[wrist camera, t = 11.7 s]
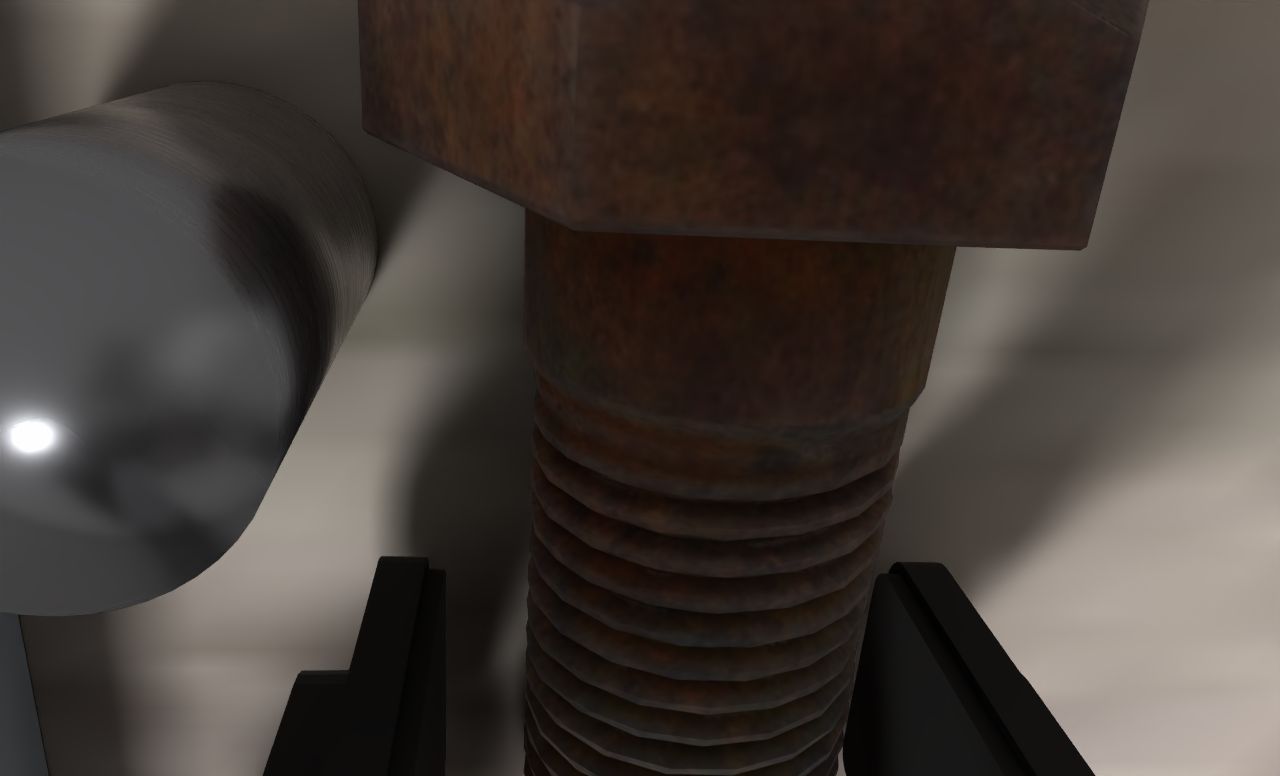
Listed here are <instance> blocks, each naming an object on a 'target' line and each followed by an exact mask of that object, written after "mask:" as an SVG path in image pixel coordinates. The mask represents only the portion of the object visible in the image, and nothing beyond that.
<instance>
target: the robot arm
mask: <svg viewBox="0 0 1280 776" xmlns="http://www.w3.org/2000/svg"><path fill="white" fill-rule="evenodd" d="M445 760H446V569H429V559H428V557H404V556H381V557H380V558H379V561H378V564H377V568H376V572H375V575H374V579H373V583H372V587H371V590H370V594H369V598H368V602H367V605H366V609H365V613H364V616H363V620H362V624H361V628H360V631H359V635H358V639H357V643H356V646H355V650H354V654H353V658H352V661H351V665H350V669H349V670H329V671H301V672H300V673H299V674H298V676H297V678H296V680H295V683H294V685H293V688H292V691H291V694H290V697H289V700H288V703H287V706H286V708H285V711H284V714H283V717H282V720H281V723H280V726H279V729H278V732H277V735H276V738H275V741H274V744H273V747H272V749H271V752H270V755H269V758H268V761H267V764H266V767H265V770H264V773H263V776H445ZM843 763H844V769H845V773H846V776H1095V774H1094V773H1093V772H1092V770H1091V769H1090V767H1089V766H1088V764H1087V763H1086V762H1085V760H1084V759H1083V757H1082V756H1081V755H1080V753H1079V752H1078V750H1077V749H1076V748H1075V746H1074V745H1073V743H1072V742H1071V741H1070V739H1069V738H1068V736H1067V735H1066V733H1065V732H1064V731H1063V729H1062V728H1061V726H1060V725H1059V724H1058V722H1057V721H1056V719H1055V718H1054V717H1053V715H1052V714H1051V712H1050V711H1049V710H1048V708H1047V707H1046V705H1045V704H1044V702H1043V701H1042V700H1041V698H1040V697H1039V695H1038V694H1037V693H1036V691H1035V690H1034V688H1033V687H1032V686H1031V684H1030V683H1029V681H1028V680H1027V679H1026V678H1025V677H1024V676H1023V675H1022V674H1021V673H1020V672H1019V670H1018V669H1017V667H1016V666H1015V665H1014V663H1013V662H1012V660H1011V659H1010V657H1009V656H1008V655H1007V653H1006V652H1005V650H1004V649H1003V648H1002V646H1001V645H1000V643H999V642H998V640H997V639H996V638H995V636H994V635H993V633H992V632H991V631H990V629H989V628H988V626H987V625H986V623H985V622H984V621H983V619H982V618H981V616H980V615H979V614H978V612H977V611H976V609H975V608H974V606H973V605H972V604H971V602H970V601H969V599H968V598H967V597H966V595H965V594H964V592H963V591H962V589H961V588H960V587H959V585H958V584H957V582H956V581H955V580H954V578H953V577H952V575H951V574H950V572H949V571H948V570H947V568H946V567H945V566H944V565H943V564H941V563H933V562H896V563H894V564H893V565H892V567H891V568H890V570H889V573H888V574H879V575H878V577H877V578H876V581H875V584H874V589H873V594H872V599H871V604H870V609H869V614H868V619H867V624H866V629H865V634H864V639H863V645H862V650H861V655H860V660H859V665H858V670H857V675H856V680H855V685H854V690H853V695H852V700H851V705H850V710H849V717H848V721H847V726H846V731H845V736H844V741H843Z"/></svg>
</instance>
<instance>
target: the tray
mask: <svg viewBox="0 0 1280 776" xmlns="http://www.w3.org/2000/svg"><path fill="white" fill-rule="evenodd" d="M0 776H49V774H48V769H47V764H46V759H45V753H44V748H43V743H42V738H41V733H40V727H39V722H38V717H37V712H36V706H35V701H34V696H33V691H32V686H31V680H30V675H29V670H28V665H27V660H26V654H25V649H24V644H23V639H22V633H21V628H20V623H19V618H18V614H14V613H7V612H1V611H0Z"/></svg>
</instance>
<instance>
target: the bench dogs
mask: <svg viewBox="0 0 1280 776" xmlns="http://www.w3.org/2000/svg"><path fill="white" fill-rule="evenodd" d="M377 242H378V241H377V230H376V221H375V217H374V212H373V208H372V204H371V201H370V198H369V196H368V193H367V190H366V187H365V185H364V183H363V181H362V179H361V177H360V175H359V173H358V172H357V170H356V168H355V166H354V165H353V163H352V162H351V160H350V159H349V157H348V156H347V155H346V153H345V152H344V150H343V149H342V148H341V147H340V146H339V145H338V143H337V142H336V141H335V140H334V139H333V138H332V137H331V136H330V134H328V133H327V132H326V131H325V130H324V129H323V128H322V127H321V126H319V125H318V124H317V123H316V122H315V121H314V120H312V119H311V118H310V117H308V116H307V115H305V114H304V113H302V112H301V111H300V110H298V109H297V108H295V107H293V106H291V105H290V104H288V103H286V102H284V101H282V100H280V99H278V98H276V97H274V96H271V95H269V94H266V93H264V92H261V91H259V90H256V89H252V88H248V87H244V86H240V85H236V84H229V83H221V82H188V83H180V84H173V85H169V86H166V87H162V88H158V89H155V90H151V91H147V92H144V93H140V94H136V95H133V96H129V97H125V98H122V99H118V100H114V101H111V102H107V103H103V104H100V105H96V106H92V107H89V108H85V109H81V110H78V111H74V112H70V113H67V114H63V115H59V116H56V117H52V118H48V119H45V120H41V121H37V122H34V123H30V124H26V125H23V126H19V127H15V128H12V129H8V130H4V131H1V132H0V611H1V612H7V613H14V614H21V615H36V616H73V615H88V614H94V613H101V612H107V611H113V610H118V609H122V608H125V607H129V606H132V605H136V604H139V603H143V602H146V601H149V600H151V599H153V598H156V597H158V596H161V595H163V594H165V593H168V592H170V591H173V590H174V589H176V588H178V587H179V586H181V585H183V584H185V583H186V582H188V581H190V580H192V579H193V578H195V577H197V576H198V575H199V574H201V573H202V572H203V571H205V570H206V569H207V568H209V567H210V566H211V565H212V564H214V563H215V562H216V561H218V560H219V559H220V558H221V557H222V556H223V555H224V554H225V553H226V552H227V551H228V550H229V549H230V547H231V546H232V545H233V544H234V543H235V542H236V541H237V540H238V539H239V537H240V536H241V535H242V533H243V532H244V530H245V529H246V528H247V526H248V525H249V524H250V522H251V521H252V519H253V518H254V516H255V514H256V512H257V510H258V508H259V506H260V504H261V502H262V500H263V498H264V496H265V494H266V492H267V490H268V488H269V486H270V484H271V482H272V480H273V478H274V476H275V474H276V473H277V471H278V469H279V467H280V465H281V463H282V461H283V459H284V457H285V455H286V453H287V451H288V449H289V447H290V445H291V443H292V441H293V439H294V437H295V435H296V433H297V431H298V429H299V427H300V425H301V423H302V422H303V420H304V418H305V416H306V414H307V412H308V410H309V408H310V406H311V404H312V402H313V400H314V398H315V396H316V394H317V392H318V390H319V388H320V386H321V384H322V382H323V380H324V378H325V376H326V374H327V373H328V371H329V369H330V367H331V365H332V363H333V361H334V359H335V357H336V355H337V353H338V351H339V349H340V347H341V345H342V343H343V341H344V339H345V337H346V335H347V333H348V331H349V329H350V327H351V325H352V324H353V322H354V320H355V318H356V316H357V314H358V312H359V310H360V308H361V306H362V304H363V302H364V300H365V298H366V296H367V294H368V291H369V289H370V286H371V283H372V280H373V277H374V271H375V266H376V261H377Z"/></svg>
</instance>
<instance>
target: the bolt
mask: <svg viewBox="0 0 1280 776" xmlns="http://www.w3.org/2000/svg"><path fill="white" fill-rule="evenodd" d="M1148 2H1149V0H358V18H359V43H360V68H361V93H362V118H363V129H364V130H365V131H366V132H367V133H368V134H369V135H372V136H374V137H376V138H378V139H380V140H382V141H384V142H386V143H389V144H391V145H393V146H395V147H397V148H399V149H401V150H403V151H406V152H408V153H410V154H412V155H414V156H416V157H418V158H420V159H423V160H425V161H427V162H429V163H431V164H433V165H435V166H437V167H440V168H442V169H444V170H446V171H448V172H450V173H452V174H454V175H457V176H459V177H461V178H463V179H465V180H467V181H469V182H471V183H474V184H476V185H478V186H480V187H482V188H484V189H486V190H488V191H491V192H493V193H495V194H497V195H499V196H501V197H503V198H505V199H508V200H510V201H512V202H514V203H516V204H518V205H520V206H522V207H525V275H524V342H525V346H526V351H527V353H528V355H529V357H530V359H531V360H532V362H533V364H534V373H535V377H536V381H537V385H538V386H537V391H536V396H535V401H534V406H533V419H534V420H535V422H536V424H535V426H534V428H533V429H532V453H533V455H534V457H535V458H534V460H533V461H532V463H531V487H532V489H533V492H532V494H531V496H530V505H531V511H532V517H533V525H532V532H531V538H530V545H529V552H530V554H531V558H530V562H529V566H528V581H529V586H530V588H529V593H528V597H527V606H528V617H529V618H528V622H527V626H526V633H527V644H528V645H527V649H526V670H527V675H528V678H527V686H526V694H525V696H526V700H525V721H526V722H525V725H524V749H525V752H526V756H525V764H524V775H525V776H836V774H837V771H838V754H839V752H840V750H841V748H842V746H843V741H844V733H843V728H844V726H845V724H846V722H847V720H848V717H849V699H850V696H851V694H852V690H853V679H854V668H855V663H854V658H855V653H856V648H857V642H858V639H859V636H860V630H861V619H862V616H863V613H864V611H865V608H866V606H867V600H868V592H869V589H870V586H871V582H872V577H873V572H874V567H875V562H876V558H877V556H878V552H879V548H880V544H881V540H882V535H883V531H884V526H885V521H886V516H887V513H888V510H889V507H890V504H891V501H892V498H893V495H892V489H891V487H892V483H893V480H894V477H895V473H896V470H897V467H898V461H899V451H900V446H901V445H902V442H903V437H904V433H905V428H906V423H907V418H908V413H909V408H910V407H911V406H912V404H913V403H914V402H915V401H916V400H917V398H918V397H919V395H920V394H921V392H922V391H923V389H924V388H925V384H926V380H927V375H928V371H929V367H930V362H931V358H932V353H933V349H934V344H935V340H936V335H937V331H938V327H939V322H940V318H941V313H942V309H943V304H944V300H945V295H946V291H947V287H948V282H949V278H950V273H951V269H952V264H953V260H954V255H955V251H956V247H957V246H961V247H986V248H1016V249H1048V250H1082V249H1083V248H1085V247H1087V244H1088V240H1089V236H1090V232H1091V229H1092V225H1093V221H1094V217H1095V213H1096V209H1097V205H1098V201H1099V197H1100V194H1101V190H1102V186H1103V182H1104V178H1105V174H1106V170H1107V166H1108V162H1109V159H1110V155H1111V151H1112V147H1113V143H1114V139H1115V135H1116V131H1117V127H1118V123H1119V120H1120V116H1121V112H1122V108H1123V104H1124V100H1125V96H1126V92H1127V88H1128V85H1129V81H1130V77H1131V73H1132V69H1133V65H1134V61H1135V57H1136V53H1137V50H1138V46H1139V42H1140V37H1141V33H1142V28H1143V24H1144V20H1145V15H1146V11H1147V6H1148Z"/></svg>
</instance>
